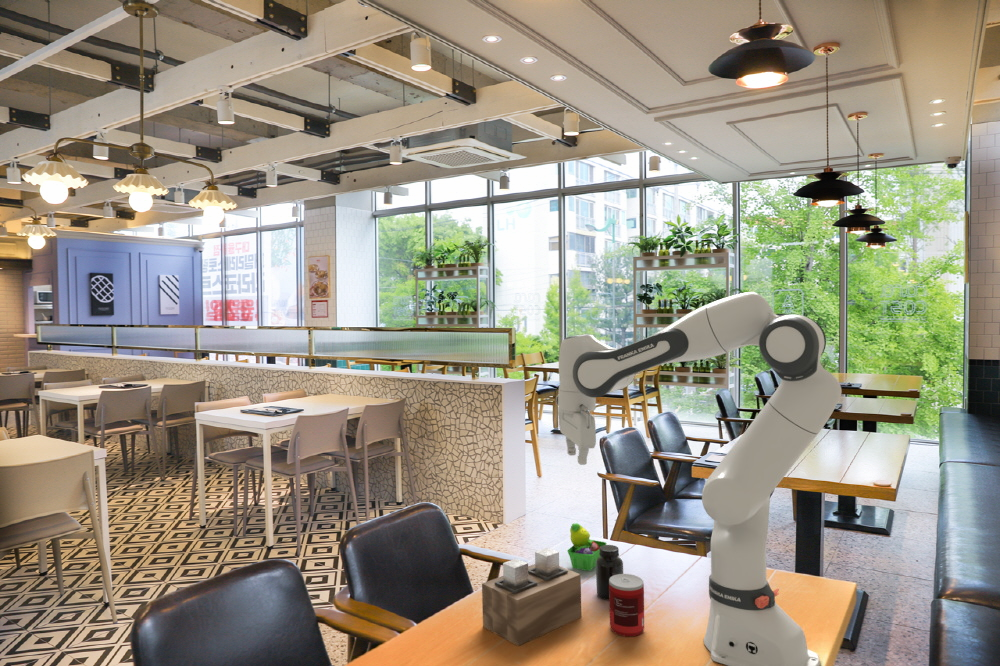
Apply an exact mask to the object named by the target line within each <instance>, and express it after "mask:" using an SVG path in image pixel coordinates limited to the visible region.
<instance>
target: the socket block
mask: <svg viewBox="0 0 1000 666" xmlns="http://www.w3.org/2000/svg"><path fill="white" fill-rule="evenodd" d="M581 575H582V574H581V573H578V572H576V571H574V570H573V571H572V570H570V569H568V568H565V567H563V566H560V565H559V573H557V574H554V575H552V576H549V577H546V576H543V575H541V574H538V573H536V572H535V563H534V564H531V565H528V585H526V586H523V587H521V588H518V589H516V590H514V589H512V588H510V587H508V586H505V585H503V575H502V576H499V577H496V578H493V579H490V580H487V581H485V582H482V583H481V596H482V597H481V600H482V601H481V602H482V627H483V628H484V629H486V630H488V631H489V632H492V633H494V634H495V635H498V636H499V637H501V638H503V639H505V641H506V640H507V641H509V642H510V643H512V644H513V645H516V646H517V647H520V646H523V645H524V644H525V643H528V642H530V641H533V640H534V639H535V640H536V639H537V638H539V637H541V636H542V635H545V634H548V633H549V632H551V631H553V630H554V631H555V630H556V629H557V628H560V627H562V626H564V625H567V624H568V623H571V622H573V621H575V620H577V619H579V618H581V617H582V581H581V579H582V576H581Z"/></svg>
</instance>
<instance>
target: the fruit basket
mask: <svg viewBox="0 0 1000 666" xmlns="http://www.w3.org/2000/svg"><path fill="white" fill-rule="evenodd" d="M569 531H570V541H571V543H572V546H571V547H570V548H568V549H567V554H568V556H569V558H570V562H571V566H572V568H573V569H577V570H581V569H582V570H581V571H587V572H590V571H592V569H594V568H596V560H597V558H599V557H600V555H599V548H600V546H603V545H608V544H607V542H606V541H600V540H594V539H590V537H591V534H590V532H589V531H588V530H587V529H585V527H583V526H582V525H581V524H579V523H578V522H576V523H575V522H574V523H572V524H571V525H570V529H569Z"/></svg>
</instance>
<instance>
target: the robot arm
mask: <svg viewBox="0 0 1000 666" xmlns="http://www.w3.org/2000/svg"><path fill="white" fill-rule="evenodd" d="M826 345H827V337H826V334H825V331H824V330H823V327H822V326H821V325H820V324H819V323H818V322H816V321H815V320H814V319H812V318H809V317H807V316H805V315H801V314H789V313H788V314H787V313H775V312H774V311H773V309H772V307H771V305H770V303H769V302H768V301H767V300H766V298H764V297H763V296H762V295H761V294H759V293H757V292H754V291H748V292H747V291H746V292H743V293H739V294H738V293H737V294H733V295H729V296H726V297H723V298H721V299H717V300H714V301H712V302H710V303H707V304H704V305H703V306H700V307H698V308H696V309H694V310H692V311H691V312H688V313H687V314H685V315H683V316H682V317H680V318H679V319H676V320H675V321H674V322H672V323H671V324H669V325H667V326H666V327H664V328H662V329H660V330H659V331H657V332H655V333H654V334H651V335H650V336H648V337H645V338H642V339H640V340H638V341H636V342H633V343H630V344H627V345H625V346H623V347H620V348H615V347H613V346H610V345H607V344H605V343H603V342H601V341H600V340H599V339H597V338H596V337H595V336H594V335H593V334H590V333H584V334H576V335H570V336H567V337H565V338H564V339H562V341H561V343H560V347H559V353H558V355H559V356H558V375H559V379H560V381H559V385H558V394H557V395H556V396H555V404H556V406H557V407H558V408H557V412H558V413H557V414H558V426H559V431H560V434H562V435H563V436H565V443H566V448H567V449H566V452H567V454H568V455H569V456H576V454H577V448H578V455H577V464H579V465H581V466H582V465H587V461H588V460H587V458H588V455H589V452H590V451H589V450H590V449H595V447H596V444H597V433H596V432H597V430H596V419H595V416H594V414H592V413H591V412H592V411H593V412H594V411H595V410H596V407H597V400H596V398H600V397H603V396H605V395H607V394H608V393H613V392H615V391H620V390H623V389H624V388H627V387H628V386H629V385H631V384H632V383H633V382H634V381H635V378H636V374H638V373H641V372H645V371H647V370H650V369H652V368H655V367H657V366H662V365H665V364H672V363H678V362H679V363H681V362H692V361H693V362H694V361H700V360H705V359H710V358H714V357H720V356H722V355H725V354H728V353H730V352H733V351H735V350H737V349H740V348H744V347H747V346H757V347H758V348H759V351H760V354H761V357H762V358H763V359H764V361H765V362H766V363H767V364H768V366H769V367H770V368H771V369H772V370H773V372H775V374H776V375H777V376H778V377H779V379H780V383H779V385H778V387H777V388H776V390H775V391H774V393H772V395H771V396H770V397H769V399H768V400H767V402H766V403H765V405H764V406H763V407H762V408H761V409H760V411H759V413H758V414H757V415H756V416H755V418H754V419H753V420H752V421H751V423H750V425H748V427H747V429H746V430H745V431H744V432H743V433H742V435H740V437H739V438H738V439H737V441H736V442H735V443H734V445H733V446H732V447H731V448H730V450H729V451H728V452H727V453H726V454H725V456H724V457H723V459H721V461H720V462H719V464H718V465H717V466H716V467H715V468H714V470H713V471H712V472H711V474H710V475H709V476H708V478H707V479H706V480H705V483H704V486H703V489H702V495H701V501H702V506H703V507H702V508H703V509H704V511H705V512H706V514H707V515H708V517H710V518H711V519H712V520H713V527H712V533H711V537H710V574H709V577H708V596H709V601H710V605H709V606H710V607H709V616H708V621H707V622H708V623H707V626H706V631H705V633H704V634H705V635H704V637H703V644H704V645H705V648H706V649H707V650H709V651H708V652H710V657H711V660H712V661H714V662H716V663H719V664H722V665H725V666H820V665H821V664H820V657H819V656H820V655H819V654H818V653H817V652H815V651H812V650H811V649H809V648H808V644H807V639H806V635H805V632H804V630H803V628H802V627H801V625H799V624H798V623H797V622H796V621H795V620H794V619H793V618H792V617H791V616H790V615H788V613H786V611H785V610H784V609H783V608H781V606H780V605H778V604H777V603H776V599H775V597H777V596H778V595H779V594H780V593H779V591H780V589H779V588H777V589H775V590H772V588H771V586H770V584H769V582H768V580H767V542H768V531H769V530H768V529H769V521H770V520H769V518H770V502H771V494H772V493H773V492H774V491H775V489H776V488H777V486H778V485H779V484H780V482H781V481H782V480H783V479H784V478H785V476H786V475H787V474H788V472H789V471H790V470H791V469H792V467H793V466H794V465H795V464H796V462H797V461H798V459H800V457H801V456H802V455H803V454H804V452H805V451H806V450H807V448H808V447H809V446H810V445H811V443H812V442H813V441H814V440H815V438H816V437H817V435H818V434H819V433H820V432H821V431H822V429H823V428H824V426H825V425H826V424H827V422H828V420H829V419H830V417H831V415H832V414H833V412H834V410H835V409H836V407H837V405H838V403H839V402H840V399H841V395H842V393H843V392H842V386H841V384H840V382H839V380H838V379H837V378H836V377H835V375H833V373H831V372H829V371H828V370H827V369H825V368H824V367H823V365H822V364H821V363H822V362H821V357H822V356H823V354H824V353H825V349H826ZM576 446H577V448H576Z"/></svg>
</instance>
